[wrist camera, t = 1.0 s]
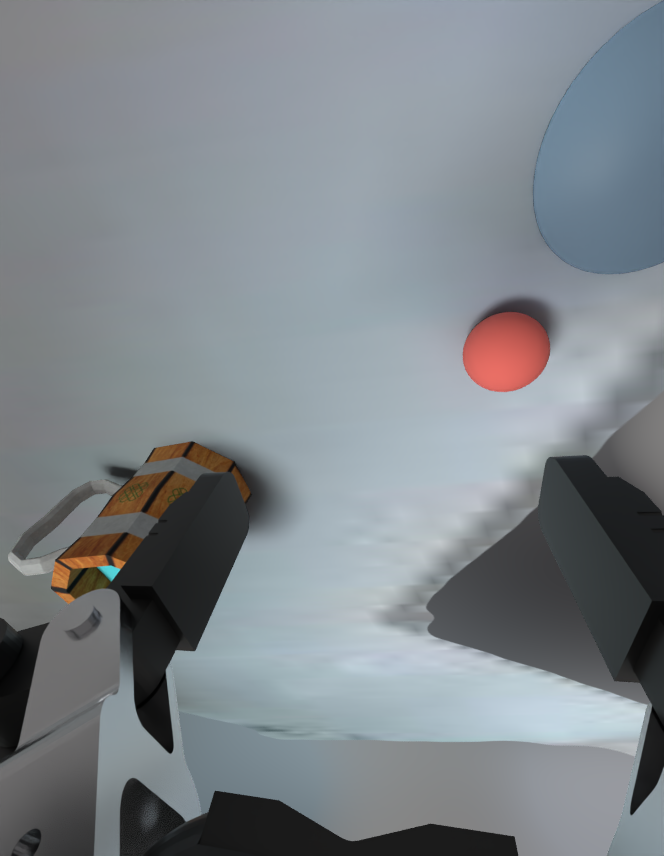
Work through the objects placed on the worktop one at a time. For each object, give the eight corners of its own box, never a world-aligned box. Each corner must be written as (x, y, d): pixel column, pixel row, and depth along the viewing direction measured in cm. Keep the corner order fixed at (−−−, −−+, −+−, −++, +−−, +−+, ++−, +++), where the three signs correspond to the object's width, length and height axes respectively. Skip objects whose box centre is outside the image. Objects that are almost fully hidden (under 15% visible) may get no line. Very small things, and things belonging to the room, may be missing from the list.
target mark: (487, 205, 24) (488, 205, 24) (693, -93, 17) (696, -96, 17) (630, 309, 27) (631, 309, 27) (862, 89, 20) (866, 88, 19)
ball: (441, 350, 31) (454, 381, 26) (491, 288, 27) (516, 309, 22) (495, 383, 32) (517, 419, 27) (549, 327, 28) (585, 355, 24)
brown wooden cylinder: (251, 451, 39) (192, 569, 27) (251, 529, 47) (206, 650, 35) (81, 422, 40) (-54, 526, 27) (109, 505, 47) (13, 615, 35)
